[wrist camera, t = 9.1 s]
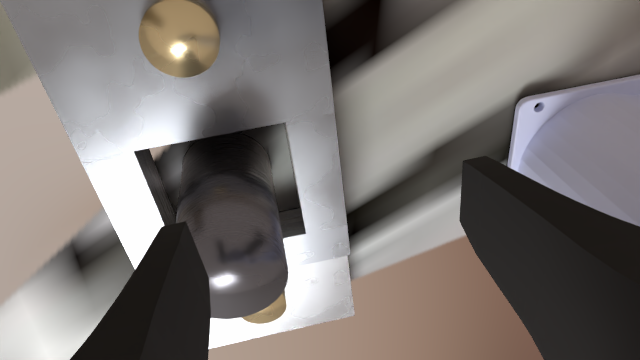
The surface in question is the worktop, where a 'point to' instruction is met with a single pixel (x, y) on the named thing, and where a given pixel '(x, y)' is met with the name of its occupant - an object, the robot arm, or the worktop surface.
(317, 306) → the lower end link
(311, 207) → the upper end link
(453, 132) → the worktop surface
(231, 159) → the pin
